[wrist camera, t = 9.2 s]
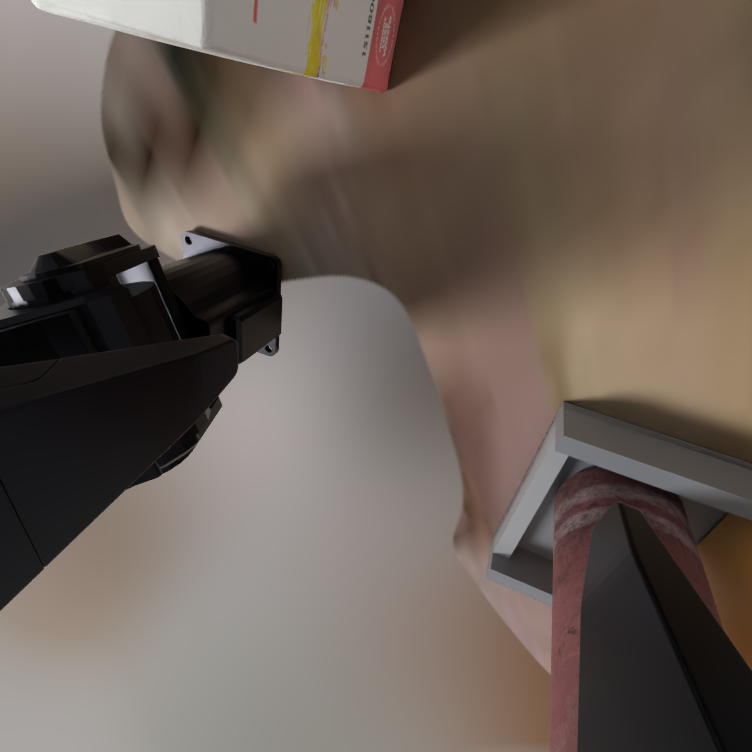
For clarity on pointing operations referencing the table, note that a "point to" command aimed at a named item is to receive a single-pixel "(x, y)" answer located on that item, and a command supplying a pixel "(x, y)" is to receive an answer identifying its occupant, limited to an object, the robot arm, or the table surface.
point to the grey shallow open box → (618, 454)
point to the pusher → (731, 578)
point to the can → (570, 554)
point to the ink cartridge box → (263, 32)
